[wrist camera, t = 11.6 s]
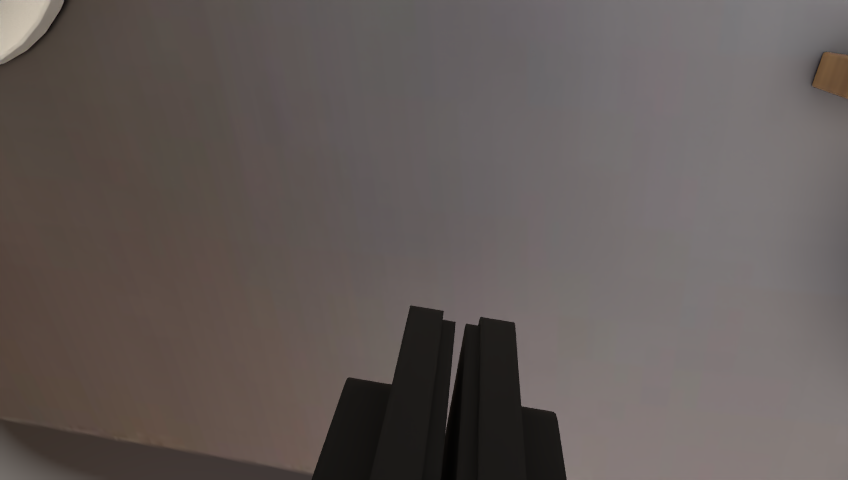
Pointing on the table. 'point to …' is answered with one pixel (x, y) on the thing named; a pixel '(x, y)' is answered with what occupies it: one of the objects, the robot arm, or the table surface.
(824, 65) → the corner stop
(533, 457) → the robot arm
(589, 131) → the table surface
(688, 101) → the table surface
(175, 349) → the table surface
